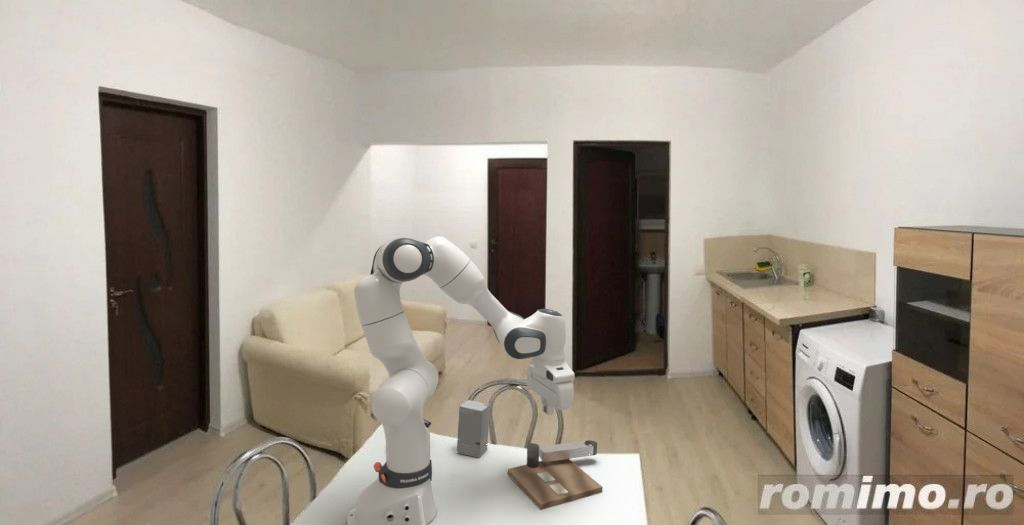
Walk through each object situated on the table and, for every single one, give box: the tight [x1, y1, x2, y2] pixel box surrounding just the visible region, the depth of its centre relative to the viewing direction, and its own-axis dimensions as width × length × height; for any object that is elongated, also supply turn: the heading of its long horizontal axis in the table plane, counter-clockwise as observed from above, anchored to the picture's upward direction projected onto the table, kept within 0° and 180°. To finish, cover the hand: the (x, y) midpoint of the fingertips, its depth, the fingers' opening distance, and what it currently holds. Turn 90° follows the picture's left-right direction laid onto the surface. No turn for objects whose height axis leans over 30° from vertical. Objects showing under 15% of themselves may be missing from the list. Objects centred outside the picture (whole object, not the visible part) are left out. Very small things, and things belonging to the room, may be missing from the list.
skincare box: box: [456, 399, 491, 459], centre depth 173 cm, size 8×7×16 cm
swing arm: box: [539, 439, 598, 462], centre depth 166 cm, size 18×4×3 cm, turn 107°
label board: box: [507, 443, 603, 511], centre depth 156 cm, size 20×21×8 cm
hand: (547, 413), depth 153 cm, fingers closed
